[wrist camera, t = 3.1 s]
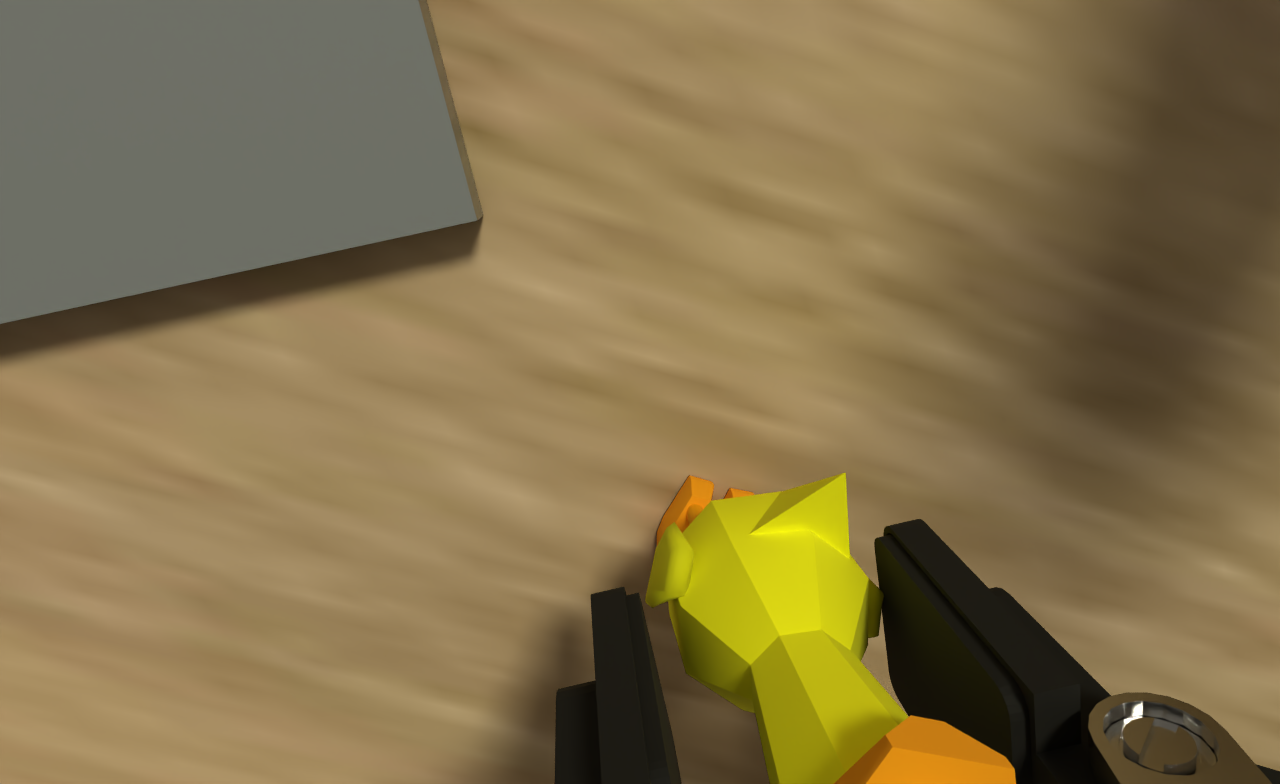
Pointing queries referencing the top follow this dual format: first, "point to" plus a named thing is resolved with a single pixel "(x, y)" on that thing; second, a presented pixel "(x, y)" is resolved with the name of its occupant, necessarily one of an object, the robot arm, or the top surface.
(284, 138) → the slate tile
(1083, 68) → the top surface
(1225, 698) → the top surface
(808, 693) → the toy figure
